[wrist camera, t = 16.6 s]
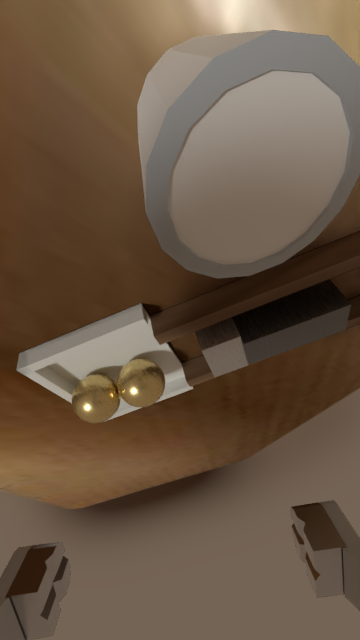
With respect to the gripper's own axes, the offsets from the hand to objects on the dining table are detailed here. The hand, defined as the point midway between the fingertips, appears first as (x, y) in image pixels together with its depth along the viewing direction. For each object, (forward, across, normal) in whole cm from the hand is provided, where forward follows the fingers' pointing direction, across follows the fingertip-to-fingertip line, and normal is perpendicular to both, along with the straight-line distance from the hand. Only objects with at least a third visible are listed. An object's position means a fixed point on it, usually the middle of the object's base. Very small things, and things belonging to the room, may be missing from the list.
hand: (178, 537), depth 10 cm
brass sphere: (+15, -1, +1) cm, 15 cm away
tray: (+16, -5, +1) cm, 17 cm away
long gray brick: (+14, +3, +2) cm, 15 cm away
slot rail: (+15, +9, +4) cm, 19 cm away
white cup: (+7, +4, +15) cm, 17 cm away
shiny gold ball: (+15, -5, 0) cm, 16 cm away
